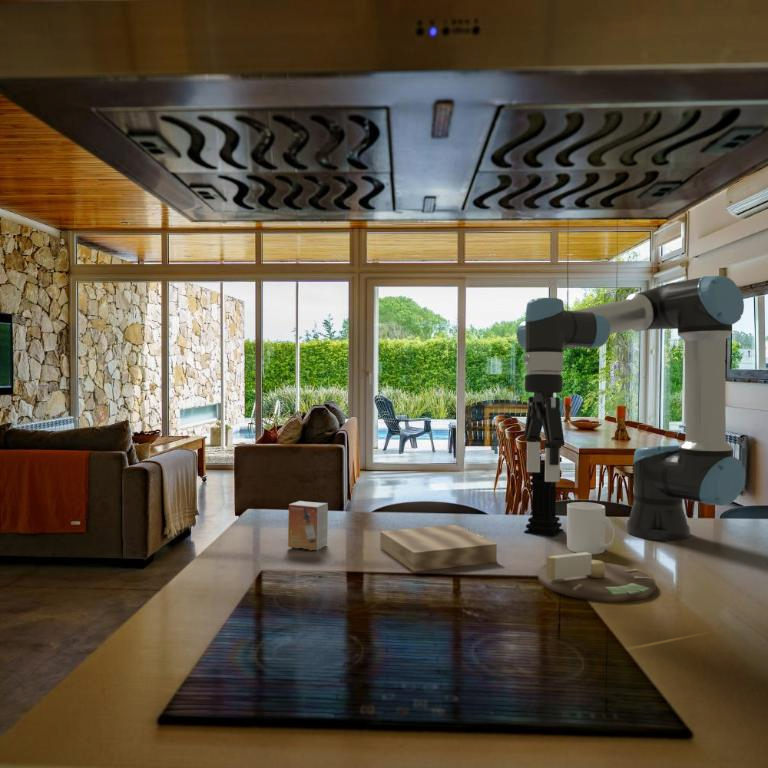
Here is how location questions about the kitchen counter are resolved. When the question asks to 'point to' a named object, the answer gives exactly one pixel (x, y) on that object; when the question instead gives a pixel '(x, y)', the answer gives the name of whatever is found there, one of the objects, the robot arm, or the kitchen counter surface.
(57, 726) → the kitchen counter surface
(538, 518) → the chess piece
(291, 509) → the small box
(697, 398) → the robot arm
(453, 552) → the block
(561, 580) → the dial
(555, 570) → the white bar with ball
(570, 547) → the mug
